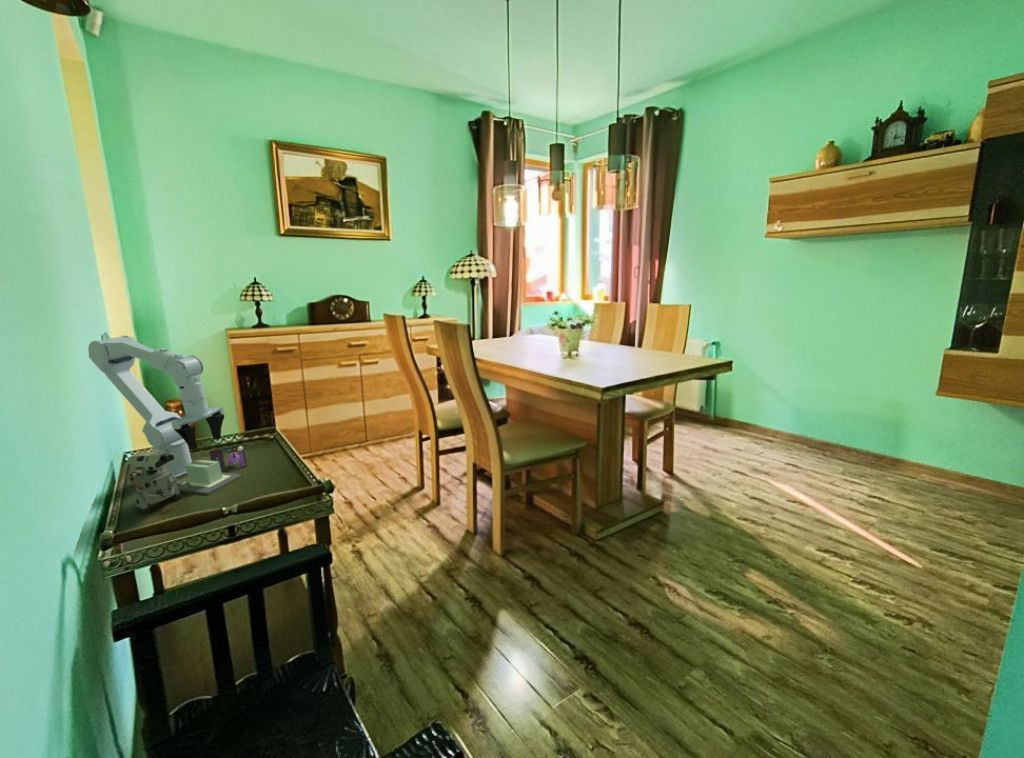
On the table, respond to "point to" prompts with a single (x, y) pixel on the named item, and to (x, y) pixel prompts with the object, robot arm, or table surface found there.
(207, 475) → the mint slotted box
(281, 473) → the table surface
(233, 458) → the game card
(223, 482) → the mat
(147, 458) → the figurine
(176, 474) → the robot arm
